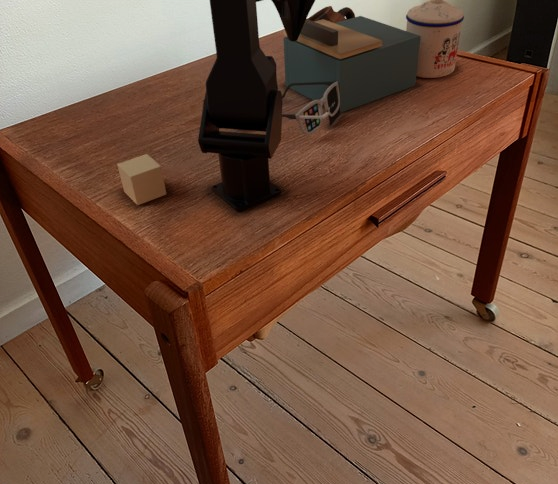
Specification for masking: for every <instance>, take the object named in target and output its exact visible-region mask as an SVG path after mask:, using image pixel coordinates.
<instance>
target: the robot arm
mask: <svg viewBox="0 0 558 484" xmlns="http://www.w3.org/2000/svg"><path fill="white" fill-rule="evenodd" d="M262 1H263V0H209V7H210V15H211V22H212V30H213V37H214V38H213V39H214V45H215V53H216V54H215V55H216V58H215V61H214V63H213V65H212V67H211V69H210V72H209V74H208V76H207V79H206V80H205V93H204V99H203V101H202V110H201V118H200V123H199V131H198V137H197V143H198V145H199V149H200V151H201V153H202V154H207V153H208V154H209V153H210V154H218V163H219V171H220V178H221V182H218V183H215V184H213V185H211V191H212V192H213V193H214V194H216V195H217V196H218V197H219V198H220V199H221V200H223V201H224V202H225V203H226V204H227V205H229V206H230V207H231V208H232V209H234V210H235V211H237V212H241V211H243V210H246V209H248V208H251V207H253V206H256V205H258V204H261V203H263V202H265V201H268V200H270V199H272V198H275V197H277V196H280V195H281V194H282V189H281V188H280V187H278V186H277V185H276V184H275V183H273V182H271V178H270V177H271V176H270V163H269V160H271V159H272V158H273V157H274V155H275V154H276V153H275V152H276V151H277V149H278V148H279V145H280V143H281V141H282V126H283V125H282V124H283V123H282V122H283V117H282V114H283V99H282V95H283V93H282V91H281V90H279V85H278V78H277V62H276V60H275V58H274V57H273V55H266V54H265V52H264V51H263V49H262V48H261V46H260V33H259V23H258V22H259V21H258V11H257V9H258V8H257V2H262ZM270 1H271V2H272V3H273V5H274V7H275V9H276V11H277V13H278V15H279V18H280V22H281V24H282V26H283V30H285V31H286V34H287V37H288V39H289V40H290V41H292V42H294V41H297V40H298V37H299V35H300V33H301V30H302V28H303V25H304V23H305V21H306V19H308V16H309V14H310V11H311V10H312V8H313V6H314V4H315V2H316V0H270ZM220 129H225V130H239V131H240V130H241V131H252V133H251V132H239V131H238V132H236V131H223V130H220ZM253 132H263V134H262V133H253ZM264 133H265V134H264Z"/></svg>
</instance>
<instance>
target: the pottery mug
mask: <svg viewBox="0 0 558 484" xmlns="http://www.w3.org/2000/svg"><path fill="white" fill-rule="evenodd" d="M355 17H356V14H355V11H354V10H353V9H352V8H350V7H347V6H345V7H342V8H340V9H339V10H338V11H335V10H334V9H333V6H332V5H328V6H325V7H322V9H319V10H318V11H317V12H315V13H314V14H312V15H311V16H309V18H308V17H307V19H308V20H311V21H314V22H315V21H319V20H322V19H324V20H327V21H330V22H332V23H337V22H340V21H344V20H348V19H351V18H355Z"/></svg>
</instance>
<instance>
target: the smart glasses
mask: <svg viewBox="0 0 558 484" xmlns="http://www.w3.org/2000/svg"><path fill="white" fill-rule="evenodd" d="M322 84H325V85H329V86H330V87H329V88H328V89H327V90H326V91H325V93H324V96H323V98H322V99H321V100H312V101H310V102H308V103H307V104H306V105H305V106H303V107H302V108H301V109H300V110H299V111H298V112H297V113H296V114H295V113H291V114H290V113H282V118H286V119H289V120H296V121H297V123H298V126H299V128H300V131H301V133H302V135H307V136H309V135H312V134H314V133H315V132H317V131H318V130H319V129H320V127H321V126H322V123H323V120H325V119H326V118H327V117H328V121H329V126H330V127H331V126H333V124H334V122H336V120H337V119H338V118H339V117H340V115H341V114H342V113H341V112H340V107H339V106H340V95H339V85H338V81H337V82H336V81H331V82H305V83H291V84H289V85H288V86H286V88H285V89H284V92H283V93H282V100H283V99H284V98H285V97H286V94H287V92H288V91H289V90H290V87H291V86H294V85H322ZM323 103H324V105H325V106H324V109H325V113H323ZM302 119H304V122H305V127H306V129H305V127H304V123H303V122H302V121H303V120H302Z"/></svg>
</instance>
